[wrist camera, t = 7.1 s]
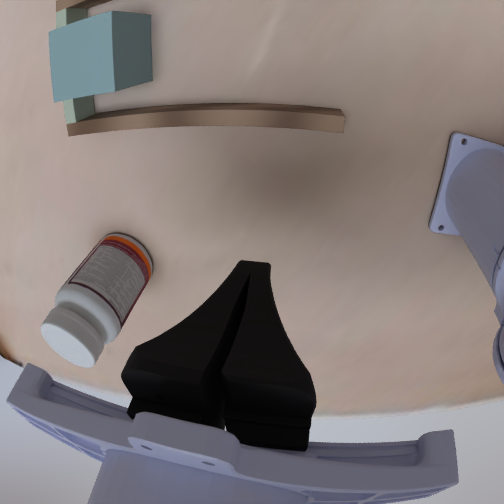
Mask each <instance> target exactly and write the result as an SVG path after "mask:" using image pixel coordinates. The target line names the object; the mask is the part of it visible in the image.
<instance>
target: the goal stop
mask: <svg viewBox="0 0 504 504" xmlns="http://www.w3.org/2000/svg"><path fill="white" fill-rule="evenodd" d="M86 18H87V9H85V8H65V9H63V10H61V11H58V12H56V28H60V27H63V26H65V25H68V24H71V23H74V22H77V21H80V20H83V19H86ZM63 105H64V112H65V118H66V124H69V123H75V122H78V121H80V120H82V119H84V118H87V117H89V116H91V115H93V114H95V109H94V101H93V95H90V96H84V97H79V98H74V99H69V100H64V101H63Z"/></svg>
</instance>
